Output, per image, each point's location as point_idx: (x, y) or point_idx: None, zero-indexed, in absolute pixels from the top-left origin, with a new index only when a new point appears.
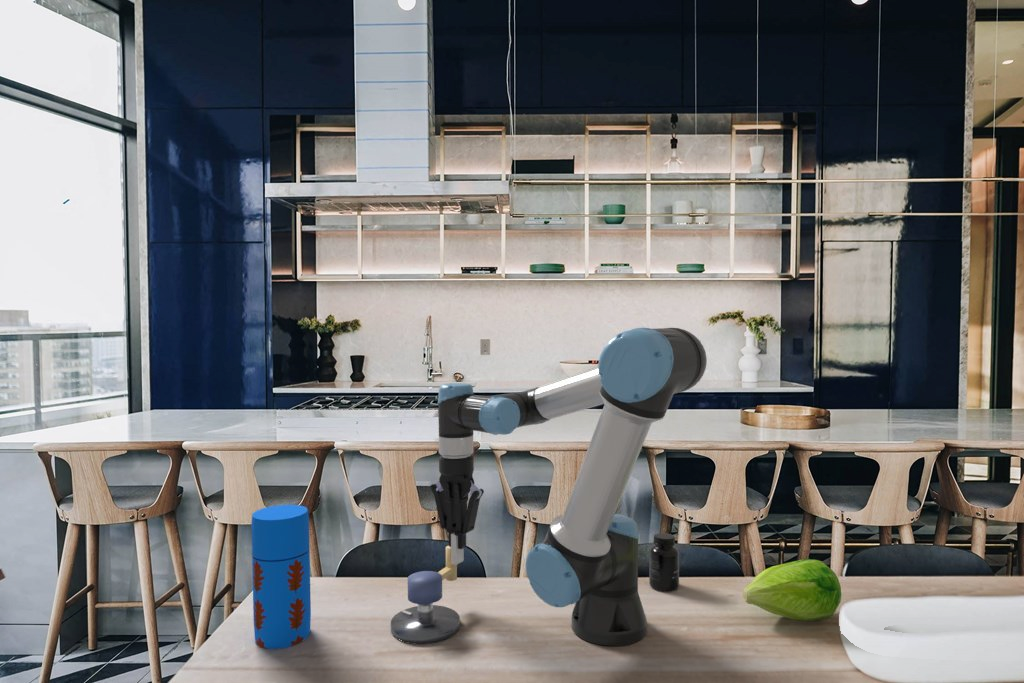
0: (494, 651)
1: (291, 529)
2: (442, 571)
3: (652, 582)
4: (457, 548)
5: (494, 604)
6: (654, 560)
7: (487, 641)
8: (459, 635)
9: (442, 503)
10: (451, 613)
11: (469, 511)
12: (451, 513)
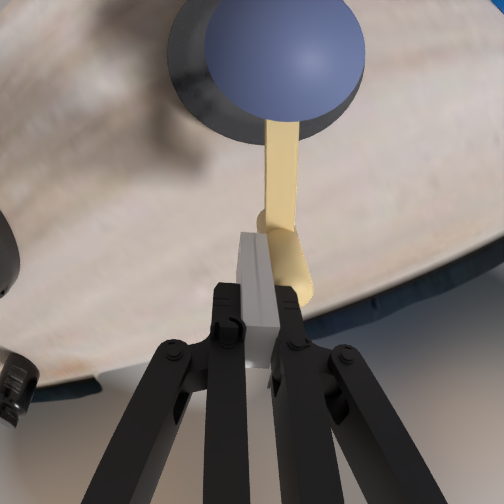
0: (52, 48)
1: None
2: (283, 188)
3: (22, 364)
4: (240, 281)
5: (173, 234)
6: (8, 388)
7: (84, 71)
8: (157, 56)
9: (382, 480)
10: (220, 116)
11: (117, 465)
12: (292, 441)
